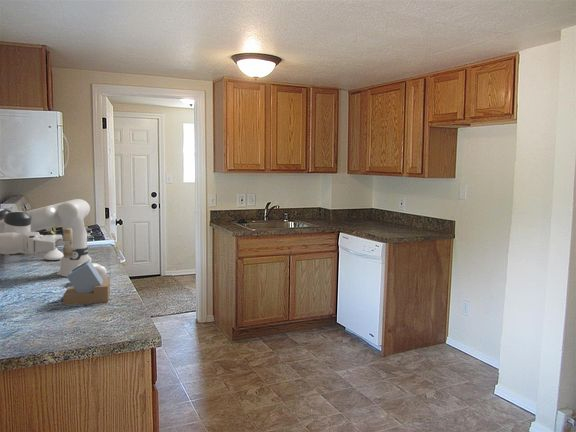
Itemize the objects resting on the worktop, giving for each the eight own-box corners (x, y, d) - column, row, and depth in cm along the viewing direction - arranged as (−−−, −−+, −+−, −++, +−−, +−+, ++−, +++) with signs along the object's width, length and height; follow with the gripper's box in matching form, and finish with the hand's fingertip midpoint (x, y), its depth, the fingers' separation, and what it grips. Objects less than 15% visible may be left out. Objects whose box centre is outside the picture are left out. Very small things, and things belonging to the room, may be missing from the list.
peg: (64, 256, 199) (64, 228, 198) (73, 256, 200) (72, 228, 199) (63, 258, 196) (62, 229, 195) (72, 257, 197) (71, 229, 196)
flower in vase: (44, 258, 283) (42, 217, 280) (65, 257, 288) (64, 216, 285) (43, 262, 271) (41, 219, 268) (65, 261, 276) (63, 219, 273)
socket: (68, 295, 206) (67, 259, 204) (110, 293, 211) (109, 258, 209) (63, 304, 193) (62, 266, 191) (107, 302, 198) (107, 264, 196)
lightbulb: (91, 291, 214) (90, 267, 213) (93, 287, 220) (92, 264, 219) (106, 290, 216) (105, 266, 215) (107, 286, 222) (107, 263, 221)
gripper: (39, 245, 204) (74, 245, 208) (28, 254, 185) (66, 253, 189) (39, 231, 203) (74, 231, 207) (27, 238, 184) (66, 238, 188)
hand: (70, 241), depth 198 cm, fingers closed on peg, 3 cm apart
